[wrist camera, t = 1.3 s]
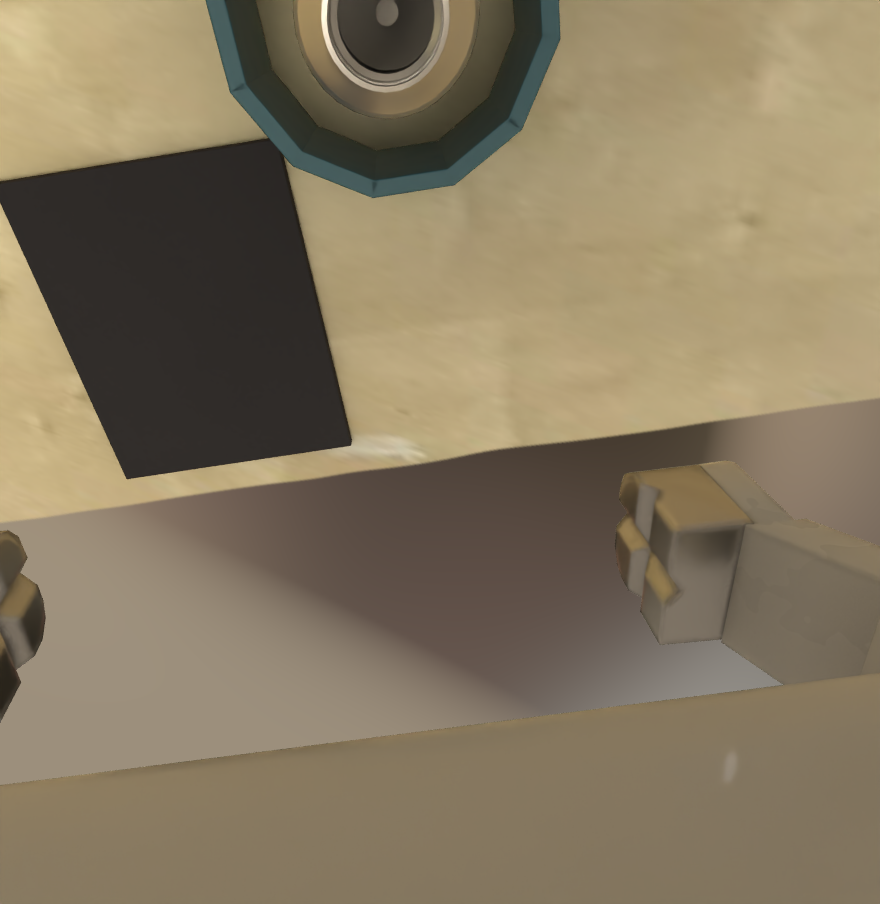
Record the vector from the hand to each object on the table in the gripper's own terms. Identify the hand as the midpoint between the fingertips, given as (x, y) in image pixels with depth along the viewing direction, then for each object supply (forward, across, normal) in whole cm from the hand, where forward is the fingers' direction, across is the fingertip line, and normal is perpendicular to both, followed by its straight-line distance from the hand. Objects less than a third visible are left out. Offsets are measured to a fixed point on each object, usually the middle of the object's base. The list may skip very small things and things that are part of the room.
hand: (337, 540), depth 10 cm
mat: (+37, +10, +8) cm, 39 cm away
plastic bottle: (+35, -4, -8) cm, 36 cm away
